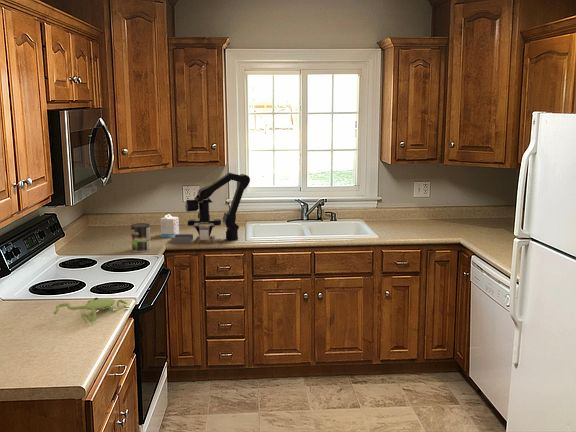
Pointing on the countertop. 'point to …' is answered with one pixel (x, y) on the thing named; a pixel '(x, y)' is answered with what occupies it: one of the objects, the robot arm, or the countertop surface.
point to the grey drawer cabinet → (182, 238)
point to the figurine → (92, 306)
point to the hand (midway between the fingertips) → (204, 236)
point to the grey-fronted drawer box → (204, 233)
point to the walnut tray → (205, 240)
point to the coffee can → (140, 237)
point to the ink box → (169, 226)
